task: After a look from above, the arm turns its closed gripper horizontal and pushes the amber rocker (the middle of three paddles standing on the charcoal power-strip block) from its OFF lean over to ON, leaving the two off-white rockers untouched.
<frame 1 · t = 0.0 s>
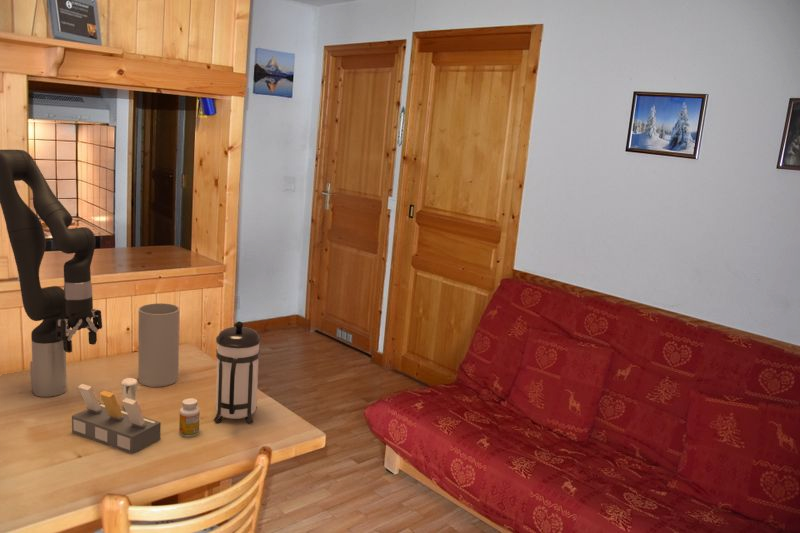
hand: (80, 347, 195), 17 cm above the table, tool pointing down, fingers open, 8 cm apart
rocker right: (134, 413, 174), point 9 cm above the table, hinge at -22.0°
coffee press: (236, 418, 198), on the table
rocker amber: (111, 405, 177), point 9 cm above the table, hinge at -22.0°
cylinder vase: (158, 380, 219), on the table
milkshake: (130, 408, 198), on the table
supplement bottle: (189, 433, 186), on the table
strip block: (116, 435, 181), on the table
rocker left: (90, 398, 180), point 9 cm above the table, hinge at -22.0°
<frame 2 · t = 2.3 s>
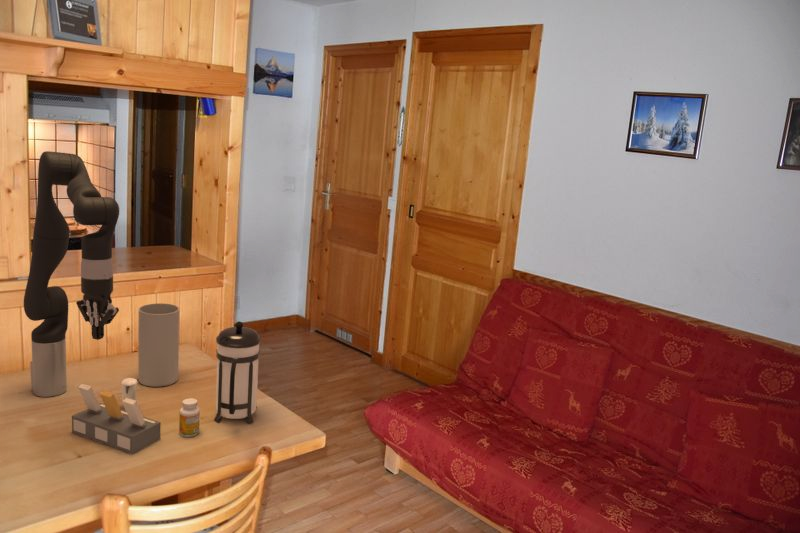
hand: (97, 338, 172), 29 cm above the table, tool pointing down, fingers closed
nothing on the table moved.
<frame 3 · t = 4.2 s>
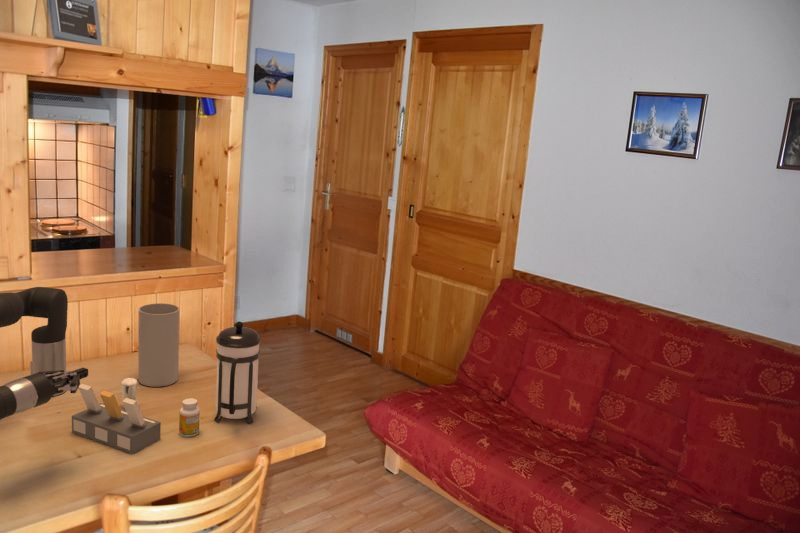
hand: (86, 371, 167), 22 cm above the table, tool horizontal, fingers closed
nothing on the table moved.
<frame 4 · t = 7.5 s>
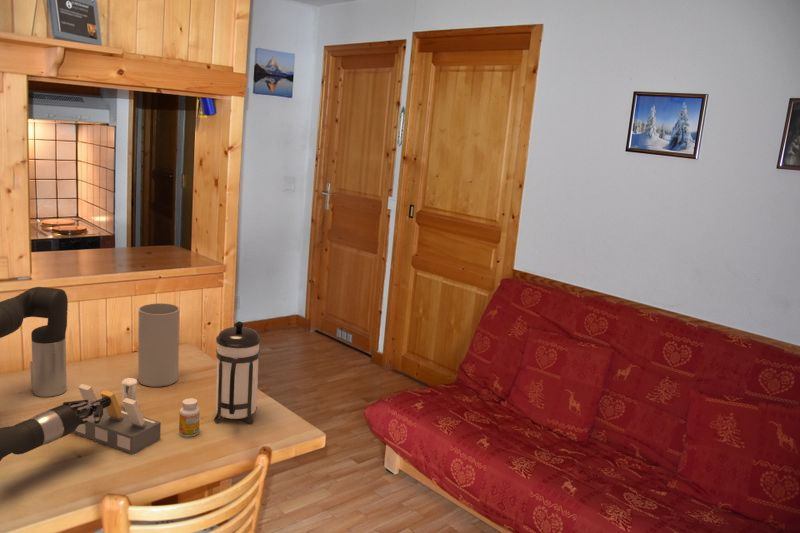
hand: (108, 400, 175), 12 cm above the table, tool horizontal, fingers closed
rocker amber: (112, 405, 177), point 10 cm above the table, hinge at -20.4°, touching gripper
everything else where it was.
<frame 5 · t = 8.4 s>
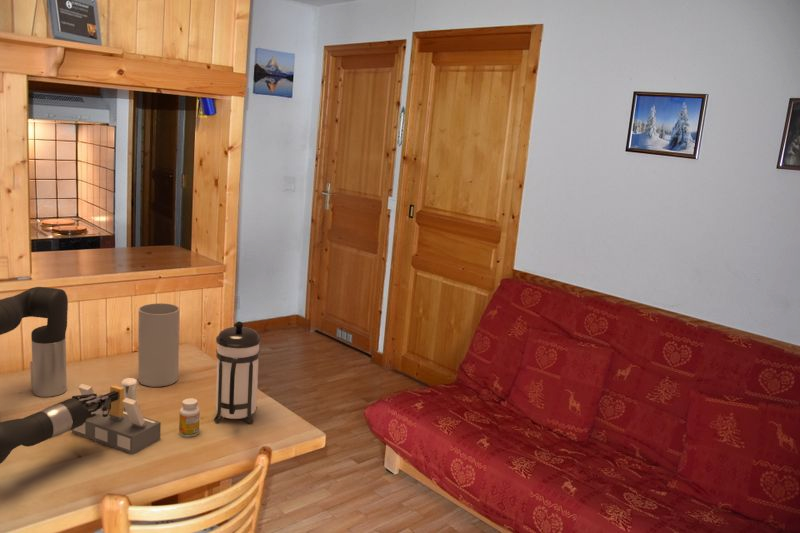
hand: (116, 394, 177), 12 cm above the table, tool horizontal, fingers closed
rocker amber: (116, 402, 179), point 10 cm above the table, hinge at 3.0°, touching gripper
everything else where it was.
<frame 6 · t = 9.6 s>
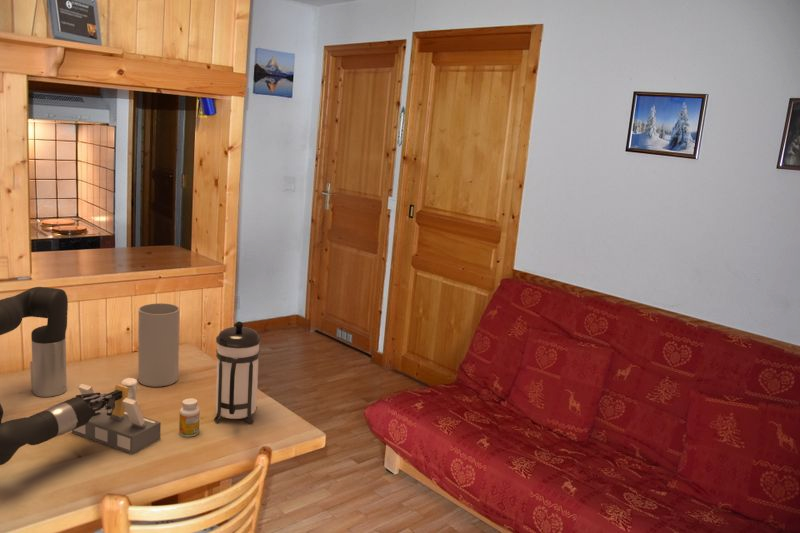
hand: (120, 393, 179), 12 cm above the table, tool horizontal, fingers closed
rocker amber: (119, 402, 179), point 10 cm above the table, hinge at 15.7°, touching gripper
everything else where it was.
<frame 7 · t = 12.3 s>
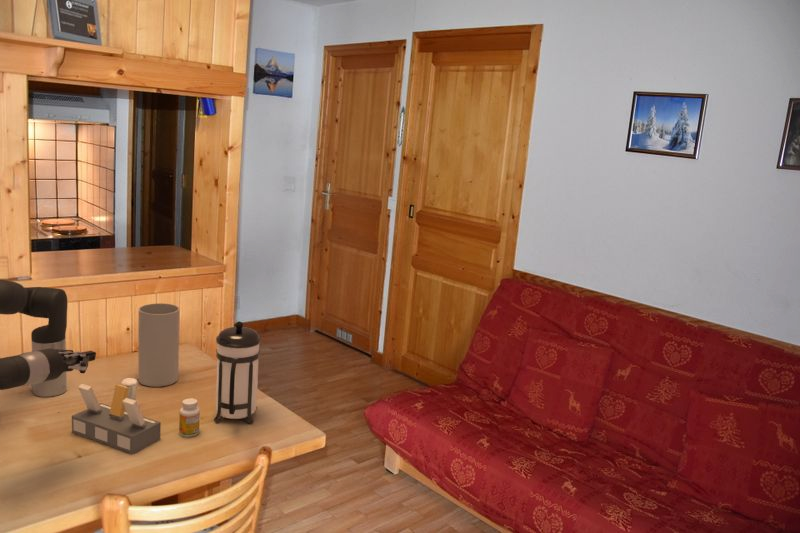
hand: (93, 355, 168), 26 cm above the table, tool horizontal, fingers closed
rocker amber: (119, 402, 180), point 10 cm above the table, hinge at 15.8°
everything else where it was.
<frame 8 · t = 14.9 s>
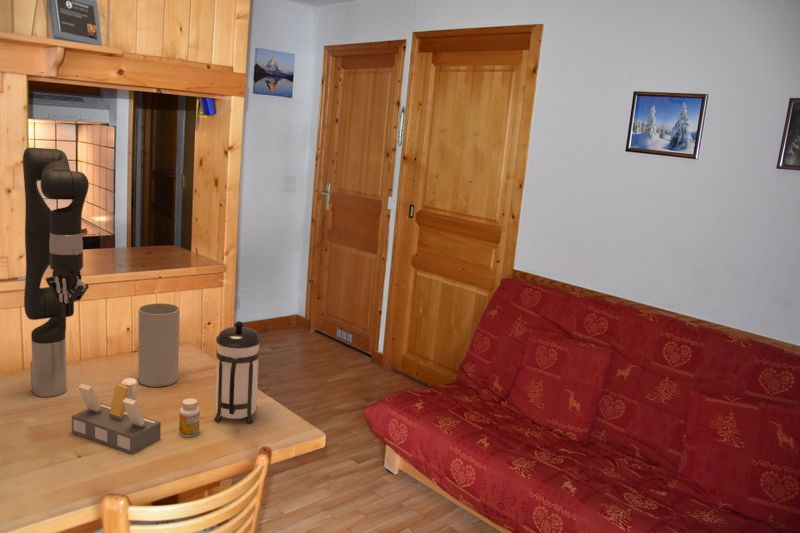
hand: (67, 315, 169), 35 cm above the table, tool pointing down, fingers closed
nothing on the table moved.
at the end: rocker amber at +16° (first picture: -22°); rocker left at -22° (first picture: -22°); rocker right at -22° (first picture: -22°) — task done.
